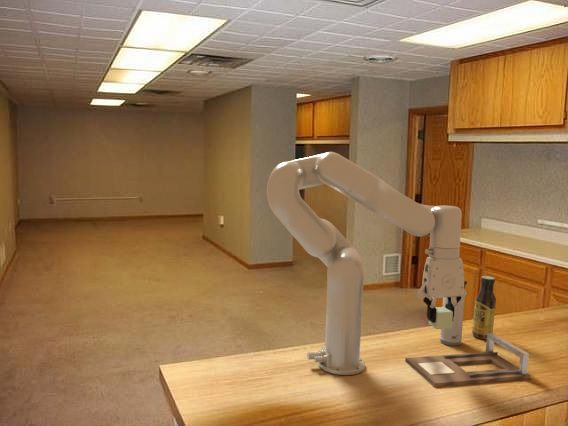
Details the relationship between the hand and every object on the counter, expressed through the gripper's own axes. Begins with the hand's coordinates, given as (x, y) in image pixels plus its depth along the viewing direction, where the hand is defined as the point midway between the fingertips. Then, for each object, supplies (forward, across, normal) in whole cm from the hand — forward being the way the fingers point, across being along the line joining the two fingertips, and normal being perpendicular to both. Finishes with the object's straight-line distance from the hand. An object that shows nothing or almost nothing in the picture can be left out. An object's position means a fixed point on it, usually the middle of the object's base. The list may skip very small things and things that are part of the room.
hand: (440, 319), depth 135 cm
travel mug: (+15, +16, +19) cm, 29 cm away
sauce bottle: (+15, +29, +22) cm, 39 cm away
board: (+15, +9, 0) cm, 17 cm away
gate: (+13, +21, 0) cm, 25 cm away
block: (+2, 0, 0) cm, 2 cm away
